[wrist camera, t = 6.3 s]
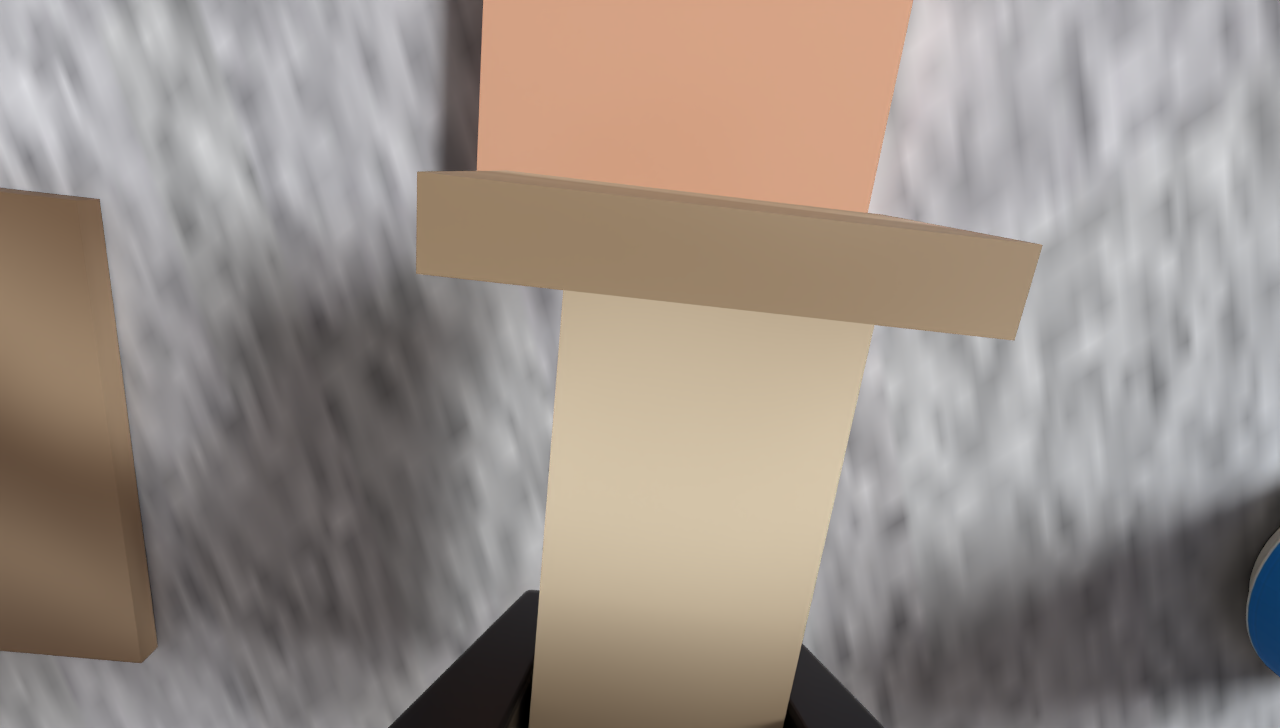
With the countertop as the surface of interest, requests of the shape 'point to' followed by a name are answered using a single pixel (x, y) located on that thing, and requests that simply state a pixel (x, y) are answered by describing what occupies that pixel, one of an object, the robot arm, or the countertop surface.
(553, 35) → the tile
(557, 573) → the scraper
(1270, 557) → the beverage can
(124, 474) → the trivet
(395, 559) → the countertop surface
